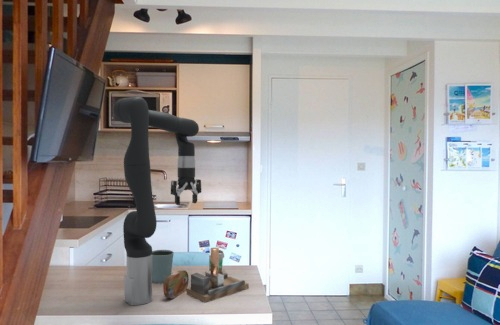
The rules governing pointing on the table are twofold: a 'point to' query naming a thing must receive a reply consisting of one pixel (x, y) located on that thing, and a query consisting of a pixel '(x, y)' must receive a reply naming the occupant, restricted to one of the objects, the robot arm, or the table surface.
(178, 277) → the tin
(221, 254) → the food container
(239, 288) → the railed wooden base
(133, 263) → the robot arm
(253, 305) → the table surface
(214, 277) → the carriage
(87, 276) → the table surface
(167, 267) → the teal cup
